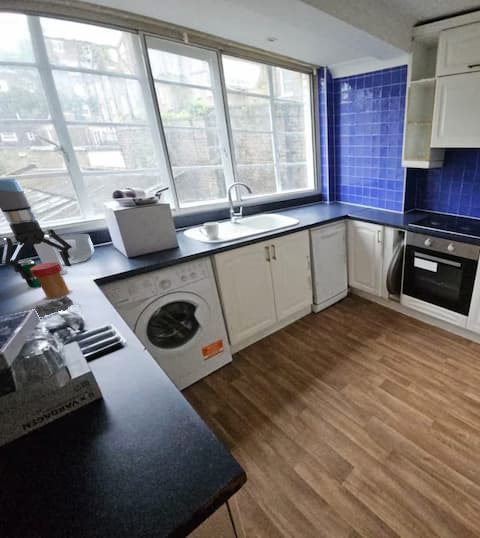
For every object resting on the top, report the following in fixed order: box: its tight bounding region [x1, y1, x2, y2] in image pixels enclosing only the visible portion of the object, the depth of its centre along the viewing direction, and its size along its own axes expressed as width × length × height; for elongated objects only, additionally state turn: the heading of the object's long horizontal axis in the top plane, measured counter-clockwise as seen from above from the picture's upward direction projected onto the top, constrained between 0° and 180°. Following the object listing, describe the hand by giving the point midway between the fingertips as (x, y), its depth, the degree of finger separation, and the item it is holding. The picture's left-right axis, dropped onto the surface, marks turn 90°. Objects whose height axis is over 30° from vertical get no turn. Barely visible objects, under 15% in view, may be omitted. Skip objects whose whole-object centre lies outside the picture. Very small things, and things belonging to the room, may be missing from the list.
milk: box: [33, 234, 66, 276], centre depth 141 cm, size 6×6×22 cm
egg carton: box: [30, 295, 74, 317], centre depth 110 cm, size 11×8×4 cm
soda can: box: [18, 259, 41, 289], centre depth 130 cm, size 5×5×12 cm
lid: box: [30, 262, 61, 277], centre depth 119 cm, size 8×8×3 cm
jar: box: [37, 272, 71, 300], centre depth 121 cm, size 7×7×12 cm
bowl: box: [50, 233, 95, 266], centre depth 162 cm, size 20×19×12 cm
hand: (48, 272), depth 120 cm, fingers open, 13 cm apart
